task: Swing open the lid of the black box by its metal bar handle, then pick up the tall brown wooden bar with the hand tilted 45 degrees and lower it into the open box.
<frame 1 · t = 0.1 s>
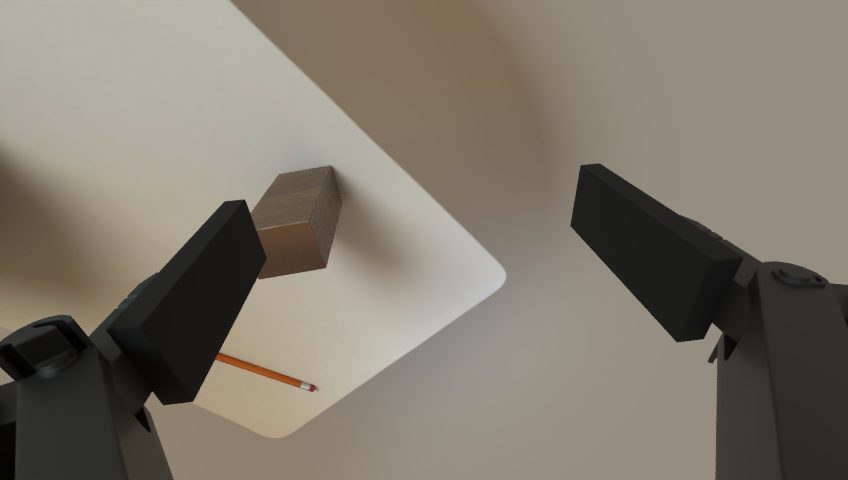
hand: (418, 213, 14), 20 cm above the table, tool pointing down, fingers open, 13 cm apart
tall brown wooden bar: (311, 189, 34), on the table
pencil: (248, 362, 46), on the table
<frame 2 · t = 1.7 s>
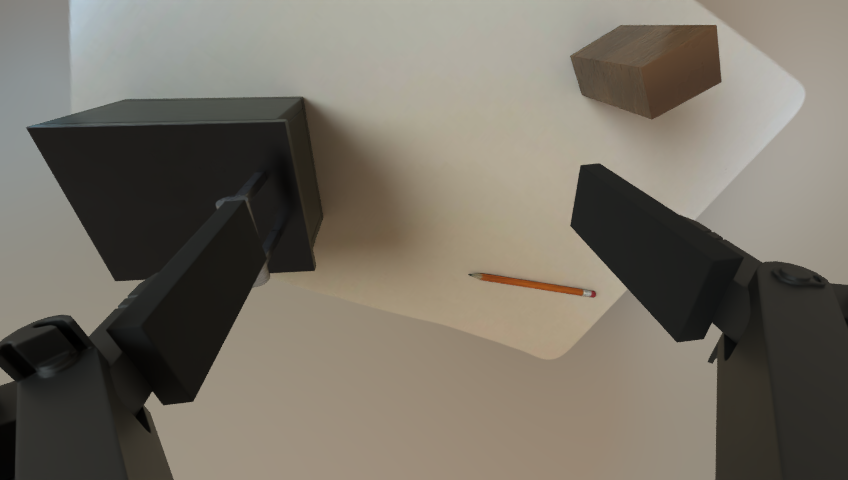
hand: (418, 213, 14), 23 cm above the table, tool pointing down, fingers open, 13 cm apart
tall brown wooden bar: (600, 61, 34), on the table
box lid: (172, 227, 25), point 13 cm above the table, hinge at 0.0°
black box: (235, 164, 36), on the table
pencil: (531, 281, 48), on the table
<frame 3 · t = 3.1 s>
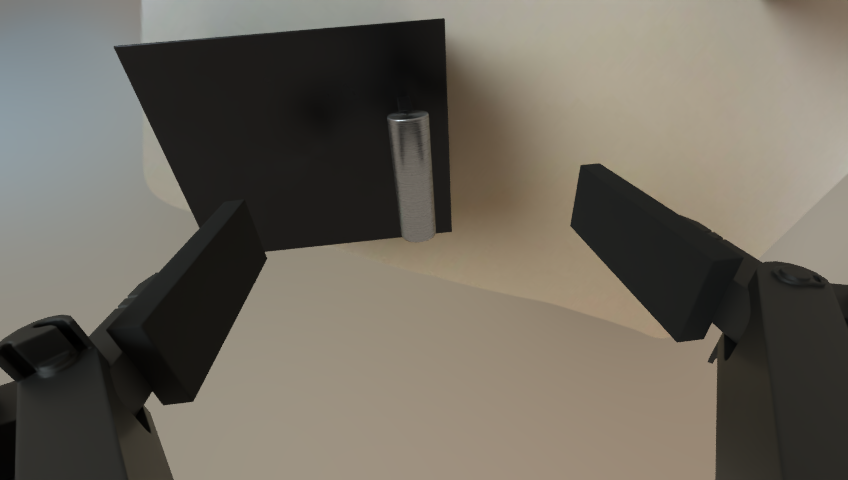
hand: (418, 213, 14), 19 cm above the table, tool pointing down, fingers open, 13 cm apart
box lid: (302, 171, 19), point 13 cm above the table, hinge at 0.0°
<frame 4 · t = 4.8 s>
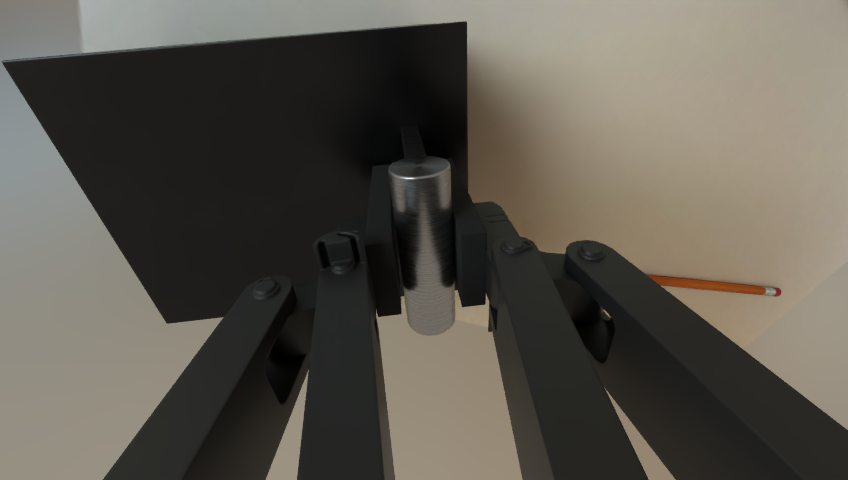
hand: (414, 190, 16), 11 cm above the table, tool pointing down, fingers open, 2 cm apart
box lid: (271, 231, 14), point 13 cm above the table, hinge at -0.2°, touching black box
pencil: (695, 280, 36), on the table
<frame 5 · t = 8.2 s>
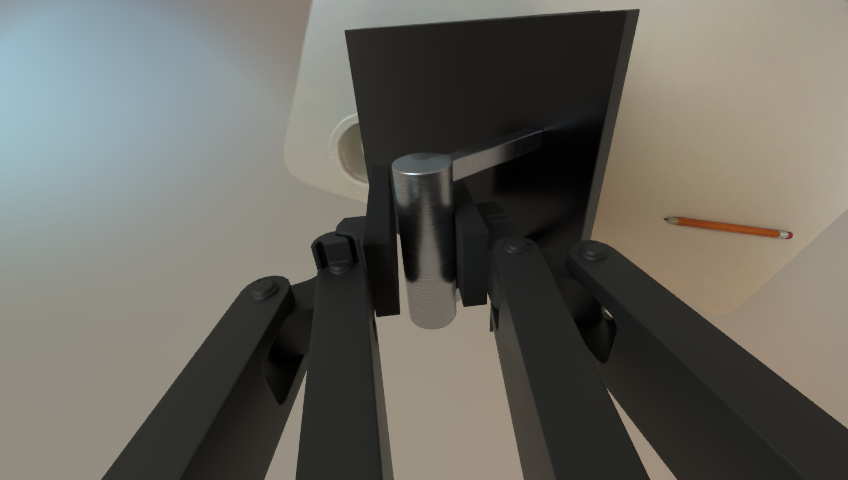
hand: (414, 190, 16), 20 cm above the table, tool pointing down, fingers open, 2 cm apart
box lid: (396, 180, 17), point 19 cm above the table, hinge at 56.9°, touching gripper
pencil: (724, 225, 44), on the table
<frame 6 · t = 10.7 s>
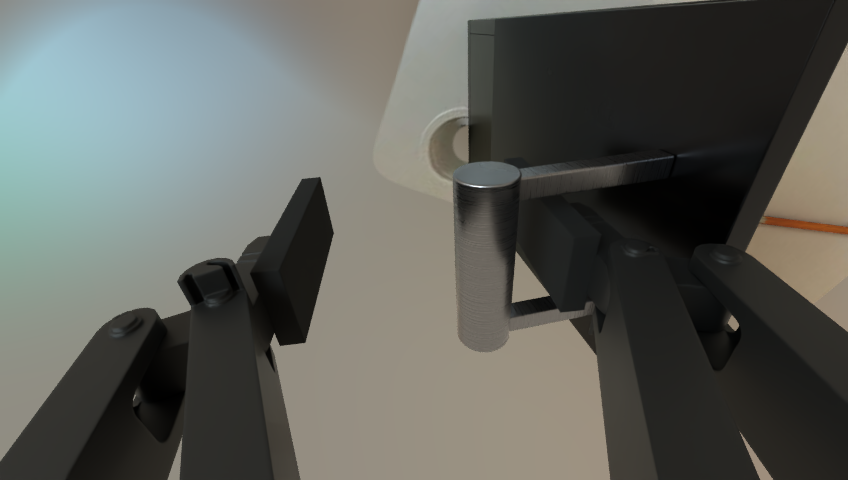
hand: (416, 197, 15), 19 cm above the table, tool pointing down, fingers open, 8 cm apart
box lid: (497, 183, 16), point 18 cm above the table, hinge at 84.1°, touching gripper
black box: (553, 95, 32), on the table
pencil: (809, 223, 43), on the table
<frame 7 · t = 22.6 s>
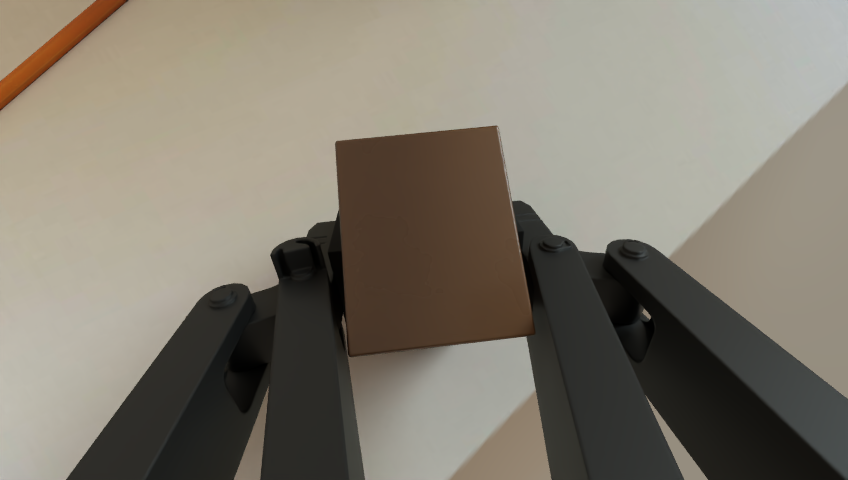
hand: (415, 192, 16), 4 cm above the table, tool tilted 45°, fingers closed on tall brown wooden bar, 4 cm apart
tall brown wooden bar: (423, 284, 19), on the table, touching gripper
pencil: (41, 77, 22), on the table
when the fingers open (11 cm above the table, at t = 34.4 s): tall brown wooden bar drops 7 cm, resting on black box.
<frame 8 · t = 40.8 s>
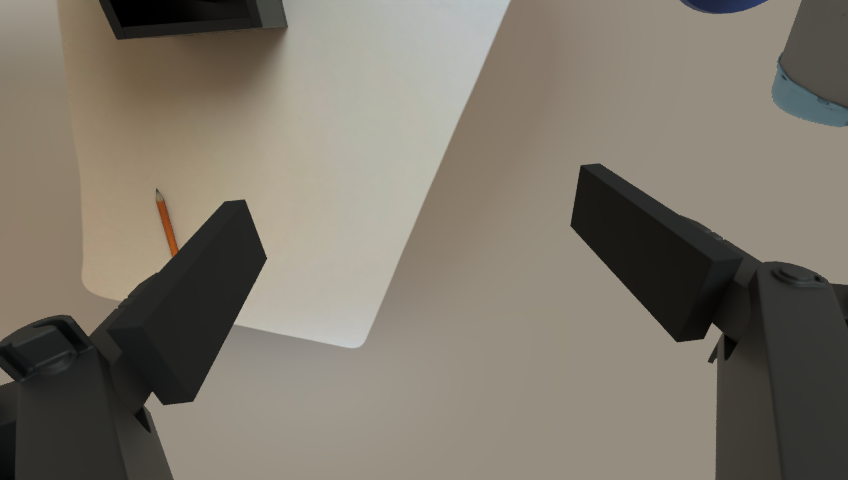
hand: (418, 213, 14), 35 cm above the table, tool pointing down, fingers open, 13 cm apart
pencil: (175, 244, 52), on the table
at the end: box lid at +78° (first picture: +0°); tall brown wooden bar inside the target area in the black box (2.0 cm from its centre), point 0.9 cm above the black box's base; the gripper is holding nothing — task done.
